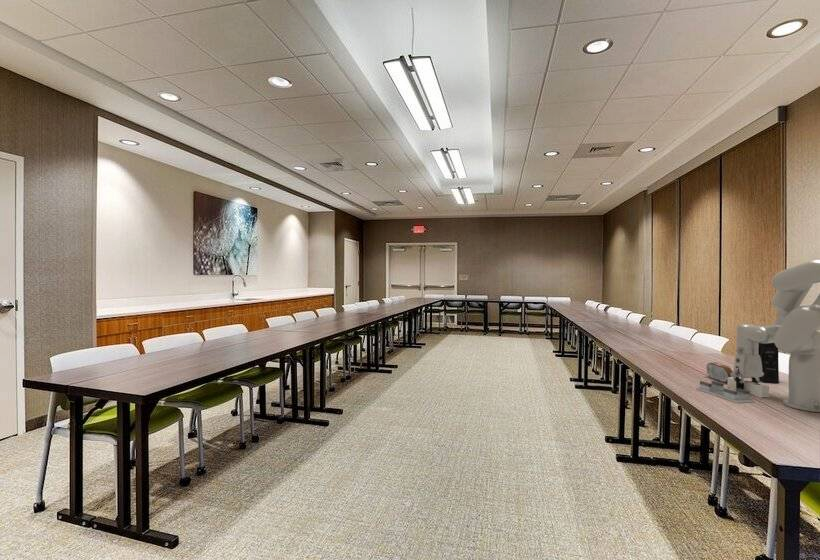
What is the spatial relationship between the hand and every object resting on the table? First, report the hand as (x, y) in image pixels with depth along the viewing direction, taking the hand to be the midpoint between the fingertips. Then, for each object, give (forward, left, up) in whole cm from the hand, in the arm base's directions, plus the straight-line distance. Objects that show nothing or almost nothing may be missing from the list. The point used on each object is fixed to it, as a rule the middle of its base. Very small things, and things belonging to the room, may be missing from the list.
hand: (747, 390), depth 177 cm
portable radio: (+14, -26, -1) cm, 30 cm away
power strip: (0, 0, -1) cm, 1 cm away
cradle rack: (-3, +15, -1) cm, 15 cm away
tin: (+19, -5, -1) cm, 20 cm away
